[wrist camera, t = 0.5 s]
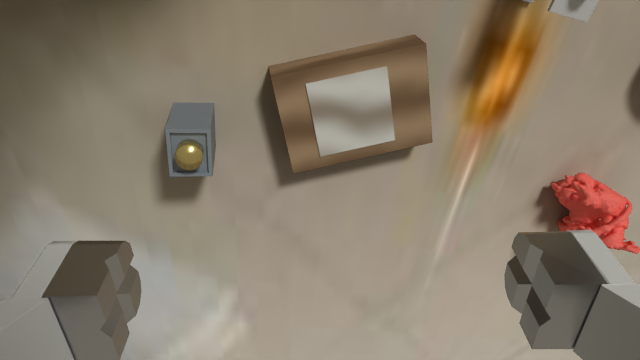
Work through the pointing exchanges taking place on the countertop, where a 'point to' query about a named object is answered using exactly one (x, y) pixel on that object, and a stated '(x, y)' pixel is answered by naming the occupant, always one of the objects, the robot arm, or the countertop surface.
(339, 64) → the dock
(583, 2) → the test tube rack
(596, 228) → the protein model
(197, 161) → the ball
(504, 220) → the countertop surface
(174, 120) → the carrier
